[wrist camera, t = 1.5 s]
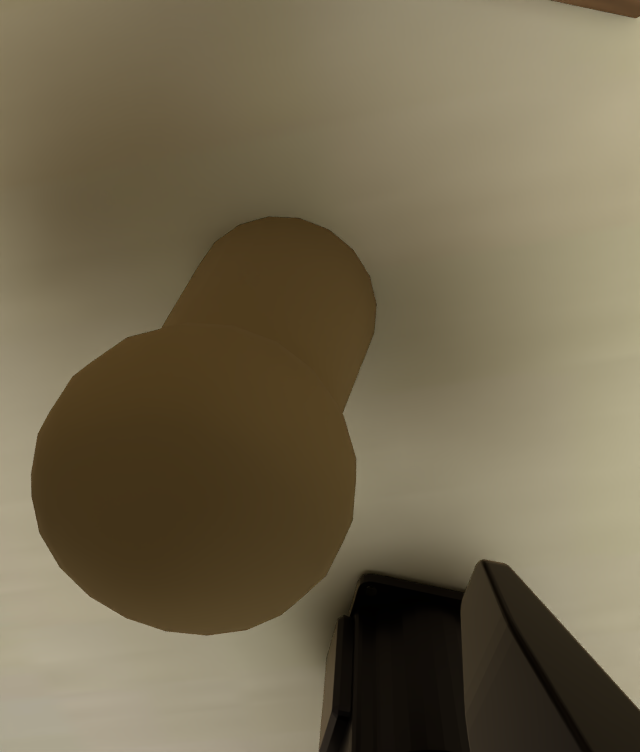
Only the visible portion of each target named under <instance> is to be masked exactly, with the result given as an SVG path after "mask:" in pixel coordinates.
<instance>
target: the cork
mask: <svg viewBox="0 0 640 752" xmlns="http://www.w3.org/2000/svg"><path fill="white" fill-rule="evenodd" d="M376 306H377V304H376V300H375V296H374V292H373V288H372V284H371V280H370V276H369V274H368V273H367V271H366V269H365V268H364V266H363V265H362V263H361V261H360V260H359V258H358V257H357V255H356V254H355V252H354V250H353V249H351V248H350V247H349V246H348V245H347V244H345V243H344V242H343V241H342V240H341V239H339V238H338V237H337V236H336V235H335V234H333V233H332V232H331V231H330V230H328V229H325V228H323V227H320V226H318V225H315V224H313V223H310V222H308V221H305V220H303V219H300V218H284V217H266V218H262V219H259V220H255V221H252V222H248V223H244V224H241V225H239V226H237V227H236V228H234V229H233V230H231V231H230V232H229V233H227V234H226V235H224V236H223V237H222V238H220V239H219V240H217V241H216V242H215V243H214V245H213V246H212V247H211V249H210V250H209V252H208V253H207V255H206V256H205V257H204V259H203V260H202V262H201V263H200V265H199V266H198V268H197V270H196V271H195V273H194V275H193V276H192V278H191V280H190V281H189V283H188V285H187V286H186V288H185V290H184V291H183V293H182V295H181V296H180V298H179V300H178V301H177V303H176V305H175V306H174V308H173V310H172V311H171V313H170V315H169V316H168V318H167V320H166V321H165V323H164V325H163V326H162V328H161V329H158V330H154V331H151V332H147V333H143V334H139V335H135V336H131V337H127V338H126V339H124V340H123V341H121V342H120V343H119V344H117V345H116V346H114V347H113V348H111V349H110V350H108V351H107V352H105V353H104V354H103V355H101V356H100V357H98V358H97V359H95V360H94V361H92V362H91V363H90V364H88V365H87V366H86V367H84V368H83V369H82V370H81V371H79V372H78V373H77V374H75V375H74V376H73V377H72V378H71V380H70V381H69V383H68V385H67V386H66V388H65V389H64V391H63V392H62V394H61V395H60V397H59V398H58V400H57V401H56V403H55V405H54V406H53V408H52V409H51V411H50V412H49V414H48V416H47V418H46V420H45V421H44V423H43V425H42V427H41V429H40V431H39V433H38V436H37V442H36V448H35V454H34V460H33V466H32V472H31V491H32V500H33V505H34V510H35V514H36V519H37V523H38V528H39V533H40V535H41V536H42V538H43V540H44V541H45V543H46V545H47V547H48V548H49V550H50V552H51V553H52V555H53V557H54V558H55V560H56V562H57V563H58V565H59V567H60V568H61V569H62V570H63V571H64V572H65V573H66V574H67V575H68V576H69V577H70V578H71V579H72V580H73V581H74V582H75V583H76V584H77V585H78V586H80V587H81V588H82V589H83V590H84V591H85V592H86V593H87V594H88V595H89V596H90V597H92V598H93V599H95V600H97V601H98V602H100V603H102V604H103V605H105V606H107V607H108V608H110V609H112V610H113V611H115V612H117V613H118V614H120V615H122V616H124V617H125V618H128V619H131V620H134V621H137V622H140V623H143V624H146V625H149V626H152V627H155V628H158V629H161V630H164V631H169V632H179V633H188V634H198V635H214V634H221V633H228V632H236V631H243V630H248V629H250V628H252V627H255V626H257V625H259V624H262V623H264V622H266V621H268V620H271V619H273V618H275V617H278V616H280V615H282V614H283V613H284V612H285V611H287V610H288V609H289V608H290V607H291V606H293V605H294V604H295V603H296V602H297V601H299V600H300V599H301V598H302V597H303V596H304V595H305V594H306V593H307V592H309V591H310V590H311V589H312V588H313V587H314V586H315V585H316V584H317V583H319V582H320V581H321V580H322V579H323V578H324V577H325V576H326V575H327V573H328V571H329V569H330V567H331V565H332V563H333V561H334V559H335V557H336V555H337V553H338V551H339V549H340V547H341V545H342V543H343V541H344V539H345V536H346V534H347V532H348V530H349V527H350V525H351V523H352V521H353V509H354V496H355V484H356V457H355V453H354V450H353V446H352V443H351V439H350V436H349V433H348V429H347V426H346V422H345V419H344V416H343V414H342V413H343V411H344V408H345V406H346V403H347V401H348V398H349V396H350V393H351V390H352V388H353V385H354V383H355V380H356V378H357V375H358V373H359V370H360V367H361V365H362V362H363V360H364V357H365V355H366V352H367V350H368V347H369V345H370V342H371V339H372V337H373V334H374V329H375V317H376Z"/></svg>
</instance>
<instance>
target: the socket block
mask: <svg viewBox="0 0 640 752" xmlns="http://www.w3.org/2000/svg"><path fill="white" fill-rule="evenodd" d="M552 1H557V2H562V3H567V4H571V5H576V6H581V7H586V8H590V9H595V10H600V11H605V12H610V13H614V14H619V15H624V16H629V17H633V18H637V17H639V16H640V0H552Z"/></svg>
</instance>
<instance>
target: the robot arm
mask: <svg viewBox="0 0 640 752" xmlns="http://www.w3.org/2000/svg"><path fill="white" fill-rule="evenodd" d="M368 586H373V587H374V588H368ZM319 752H640V710H639V709H638V707H637V706H636V705H635V704H634V703H633V702H632V701H631V700H630V699H629V698H628V696H627V695H626V694H625V693H624V692H623V691H622V690H621V689H620V688H619V687H618V685H617V684H616V683H615V682H614V681H613V680H612V679H611V678H610V677H609V675H608V674H607V673H606V672H605V671H604V670H603V669H602V668H601V667H600V666H599V664H598V663H597V662H596V661H595V660H594V659H593V658H592V657H591V656H590V655H589V653H588V652H587V651H586V650H585V649H584V648H583V647H582V646H581V645H580V643H579V642H578V641H577V640H576V639H575V638H574V637H573V636H572V635H571V634H570V632H569V631H568V630H567V629H566V628H565V627H564V626H563V625H562V624H561V623H560V621H559V620H558V619H557V618H556V617H555V616H554V615H553V614H552V613H551V611H550V610H549V609H548V608H547V607H546V606H545V605H544V604H543V603H542V602H541V600H540V599H539V598H538V597H537V596H536V595H535V594H534V593H533V592H532V591H531V589H530V588H529V587H528V586H527V585H526V584H525V583H524V582H523V581H522V580H521V578H520V577H519V576H518V575H517V574H516V573H515V572H514V571H513V570H512V568H510V567H509V566H508V565H507V564H504V563H500V562H495V561H491V560H486V559H483V560H480V561H479V562H478V563H477V564H476V566H475V569H474V571H473V574H472V576H471V579H470V581H469V584H468V586H467V589H466V591H465V593H462V592H457V591H452V590H447V589H443V588H438V587H433V586H428V585H423V584H419V583H414V582H409V581H404V580H399V579H395V578H390V577H385V576H380V575H376V574H366V575H363V576H362V577H360V579H359V580H358V583H357V587H356V590H355V594H354V597H353V600H352V604H351V607H350V611H349V614H348V616H346V615H343V616H341V617H340V618H339V619H338V620H337V623H336V627H335V631H334V634H333V638H332V641H331V645H330V648H329V652H328V655H327V660H326V671H325V683H324V695H323V707H322V719H321V731H320V743H319Z"/></svg>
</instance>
